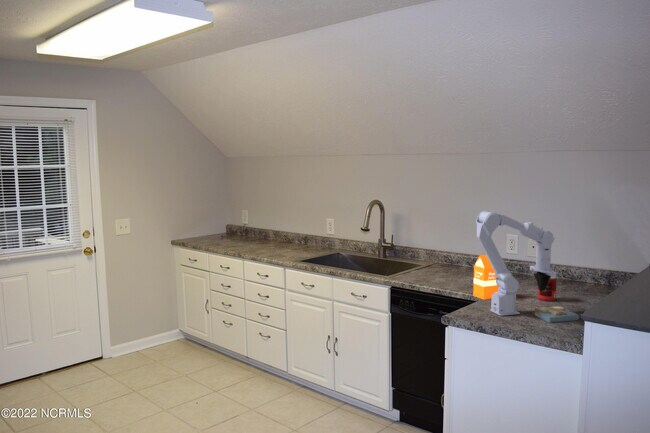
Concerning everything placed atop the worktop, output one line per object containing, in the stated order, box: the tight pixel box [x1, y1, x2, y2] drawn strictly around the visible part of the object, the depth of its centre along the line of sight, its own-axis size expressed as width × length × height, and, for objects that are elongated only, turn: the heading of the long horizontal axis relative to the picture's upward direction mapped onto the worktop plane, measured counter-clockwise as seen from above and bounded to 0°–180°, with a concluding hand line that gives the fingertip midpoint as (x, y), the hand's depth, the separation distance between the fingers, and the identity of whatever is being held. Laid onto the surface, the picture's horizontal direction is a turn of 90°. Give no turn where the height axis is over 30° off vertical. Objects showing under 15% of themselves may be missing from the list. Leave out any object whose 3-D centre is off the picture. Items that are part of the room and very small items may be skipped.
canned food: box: [537, 276, 557, 302], centre depth 245 cm, size 8×8×11 cm
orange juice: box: [473, 254, 499, 300], centre depth 250 cm, size 8×9×20 cm
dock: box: [537, 309, 580, 323], centre depth 215 cm, size 13×7×2 cm, turn 104°
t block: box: [534, 305, 566, 318], centre depth 218 cm, size 12×8×3 cm, turn 104°
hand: (541, 290), depth 225 cm, fingers closed
